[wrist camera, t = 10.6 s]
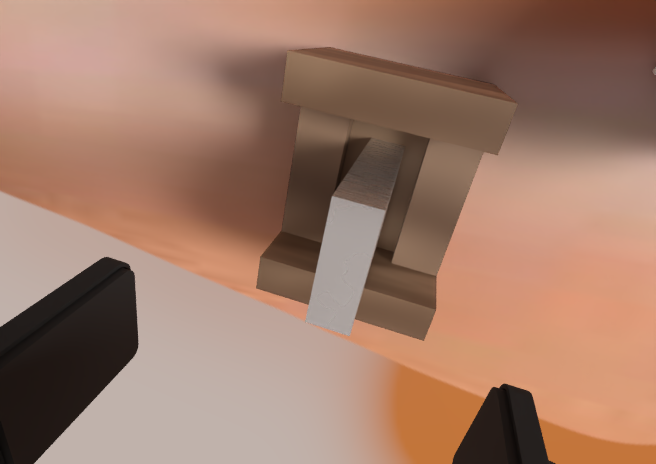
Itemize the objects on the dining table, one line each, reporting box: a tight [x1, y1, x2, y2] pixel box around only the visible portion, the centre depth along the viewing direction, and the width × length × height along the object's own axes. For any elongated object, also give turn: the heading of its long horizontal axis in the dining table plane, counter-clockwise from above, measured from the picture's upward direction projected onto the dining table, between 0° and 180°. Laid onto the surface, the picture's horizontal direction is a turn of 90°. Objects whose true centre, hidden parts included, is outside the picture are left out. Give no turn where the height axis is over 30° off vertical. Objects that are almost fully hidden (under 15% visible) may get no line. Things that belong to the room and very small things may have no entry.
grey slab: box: [305, 138, 405, 336], centre depth 20 cm, size 6×2×10 cm, turn 169°
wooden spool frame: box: [256, 47, 518, 341], centre depth 24 cm, size 13×10×8 cm
